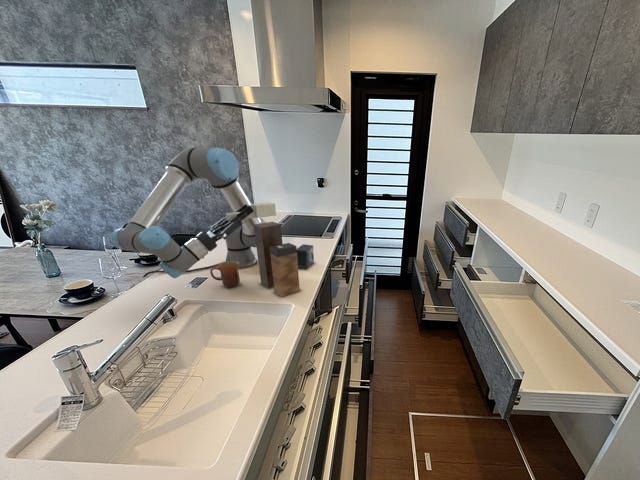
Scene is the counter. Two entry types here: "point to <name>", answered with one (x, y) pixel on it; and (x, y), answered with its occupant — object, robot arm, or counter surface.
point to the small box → (305, 256)
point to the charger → (257, 211)
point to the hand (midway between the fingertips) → (249, 207)
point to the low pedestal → (285, 274)
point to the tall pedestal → (266, 249)
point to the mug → (228, 273)
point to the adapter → (283, 249)
